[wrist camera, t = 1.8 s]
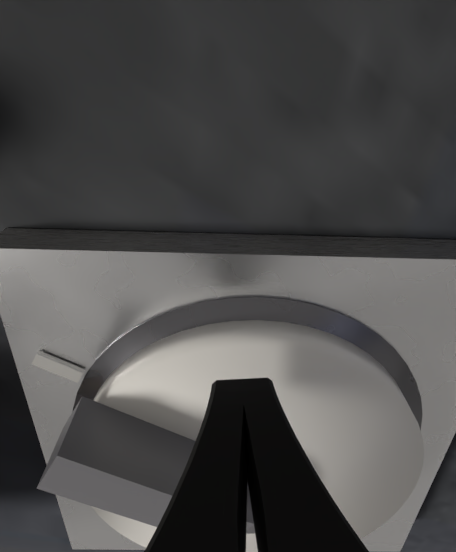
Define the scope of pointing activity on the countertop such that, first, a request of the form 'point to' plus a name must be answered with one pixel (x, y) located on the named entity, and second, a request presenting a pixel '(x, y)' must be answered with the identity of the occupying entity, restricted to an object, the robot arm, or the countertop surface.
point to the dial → (191, 410)
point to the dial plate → (222, 308)
